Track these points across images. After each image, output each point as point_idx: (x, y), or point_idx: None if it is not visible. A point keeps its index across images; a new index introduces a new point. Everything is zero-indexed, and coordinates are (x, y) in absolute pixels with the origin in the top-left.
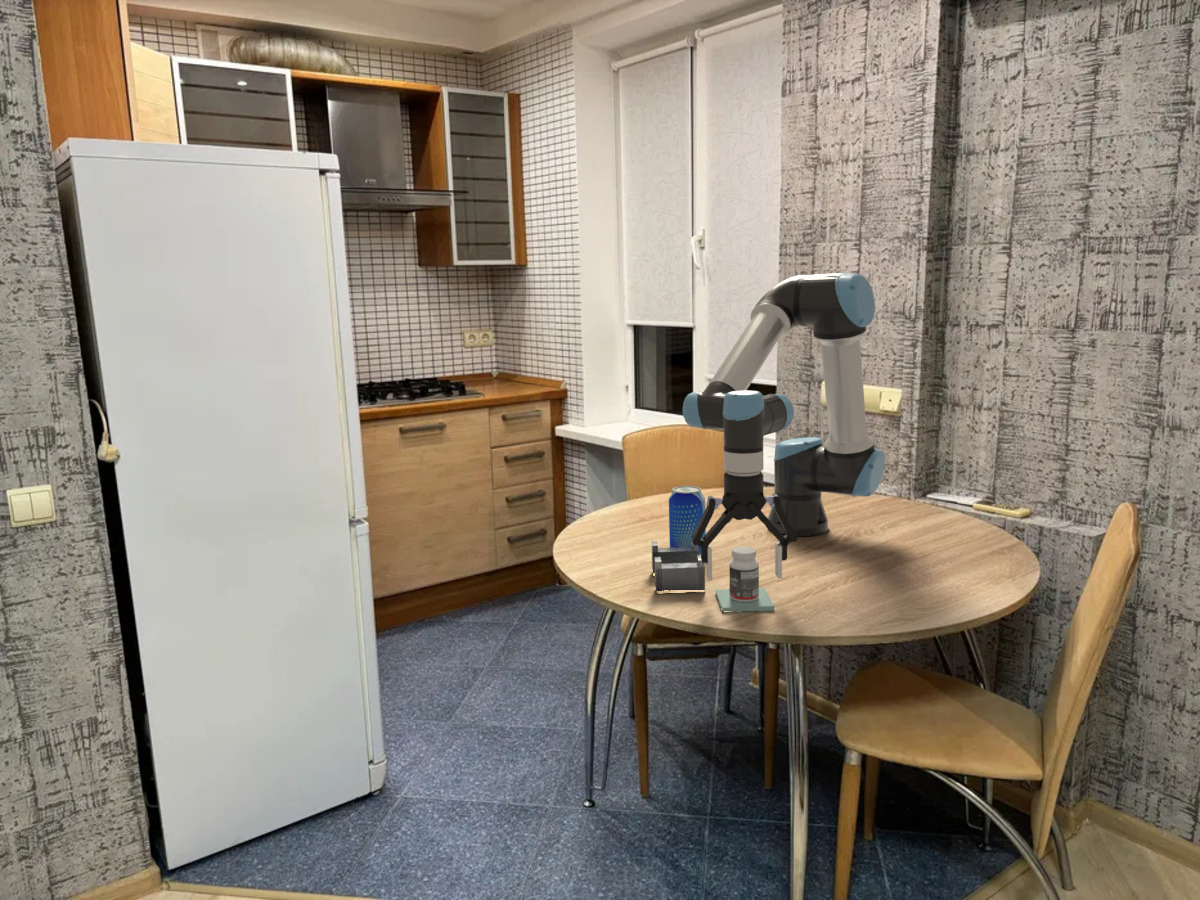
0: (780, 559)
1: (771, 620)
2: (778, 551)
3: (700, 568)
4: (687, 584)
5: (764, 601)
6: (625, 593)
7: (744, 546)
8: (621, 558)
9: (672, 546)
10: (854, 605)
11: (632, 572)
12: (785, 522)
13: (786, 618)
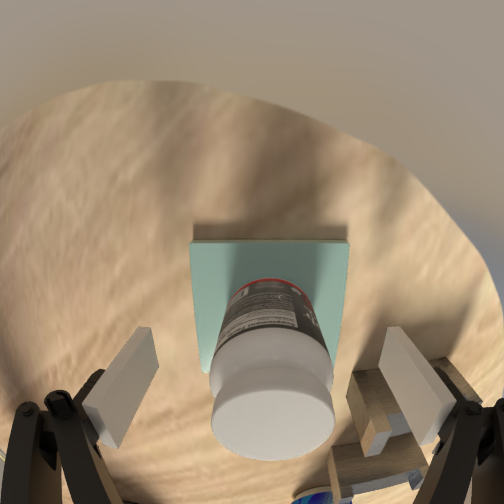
0: (113, 366)
1: (212, 170)
2: (105, 390)
3: (380, 413)
4: None
5: (213, 282)
6: (483, 356)
7: (260, 459)
8: None
9: (351, 502)
10: (31, 260)
11: None
12: (14, 482)
13: (168, 183)
